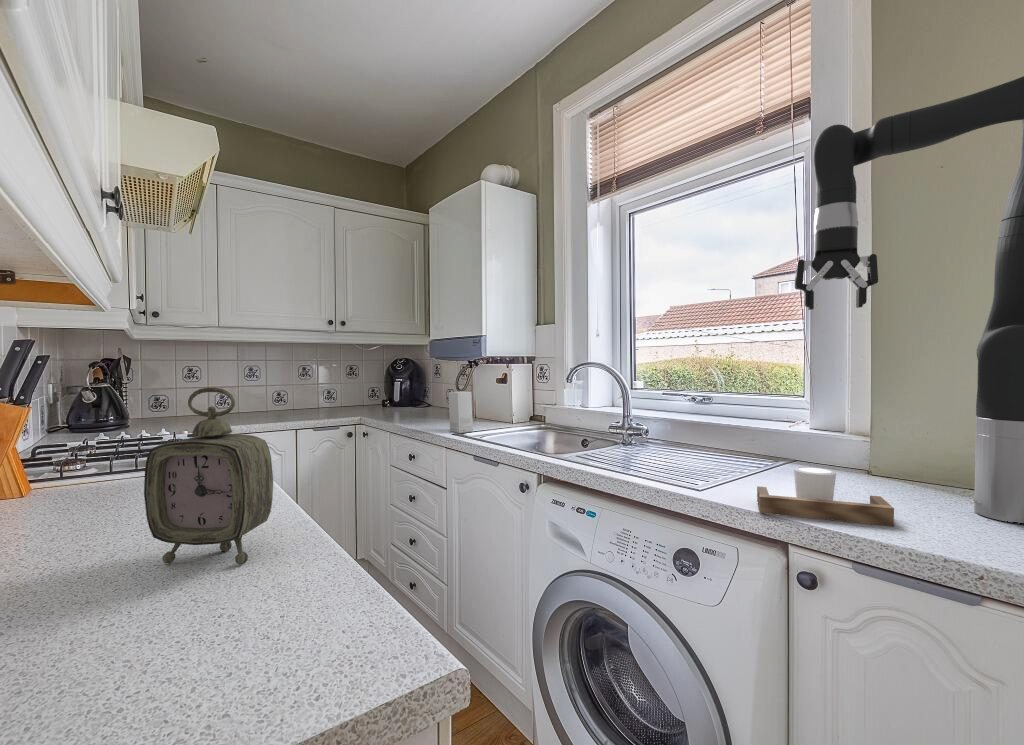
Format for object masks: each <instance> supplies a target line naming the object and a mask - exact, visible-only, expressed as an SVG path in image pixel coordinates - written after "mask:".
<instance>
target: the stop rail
mask: <svg viewBox="0 0 1024 745" xmlns="http://www.w3.org/2000/svg"><path fill="white" fill-rule="evenodd" d="M756 488H757V489H756V503H757V502H758V503H757V507H758V511H759V513H760V514H766V513H768V514H769V515H776V514H779V515H780V516H786V515H787V517H796V516H797V517H798V518H808V519H818V520H827V521H828V520H829V521H837V522H838V521H839V522H846V523H847V522H848V523H849V522H850V523H858V524H867V525H877V526H888V527H894V526H895V508H894V507H893V506H892V505H891V504H890V503H889V502H888V501H887V500H885V499H884V498H883V497H882V496H880V495H879V496H878V495H869V503H866V502H865V503H863V502H851V501H843V500H842V501H841V500H833V501H831V500H820V499H808V498H797V497H794V496H786V495H785V496H783V495H772V494H771V495H770V494H769V490H768V488H767V486H759V485H757V486H756ZM768 514H767V515H768ZM779 515H778V516H779Z"/></svg>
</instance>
